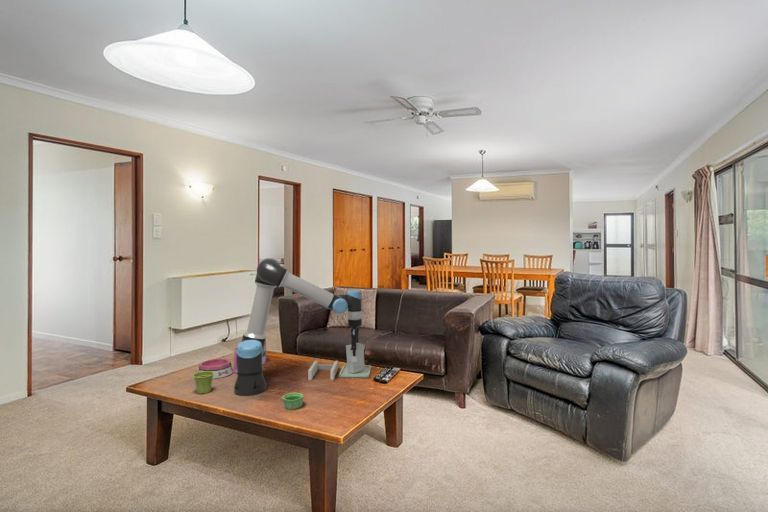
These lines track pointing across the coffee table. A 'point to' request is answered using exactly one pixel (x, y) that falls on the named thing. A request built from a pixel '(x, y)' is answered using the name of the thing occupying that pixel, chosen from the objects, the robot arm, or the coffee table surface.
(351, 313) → the robot arm
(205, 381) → the plant pot
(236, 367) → the gum box
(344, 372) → the tray
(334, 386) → the coffee table surface
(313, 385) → the coffee table surface
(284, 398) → the ramekin
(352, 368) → the skincare box
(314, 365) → the bay
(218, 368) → the dog bowl
